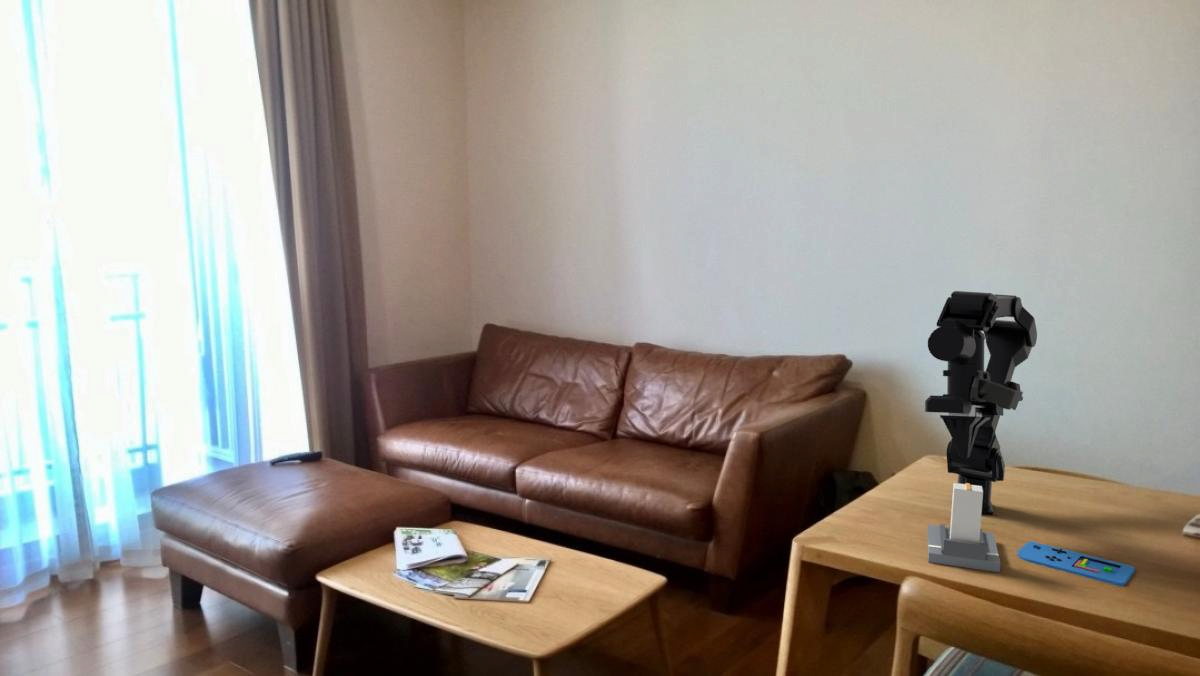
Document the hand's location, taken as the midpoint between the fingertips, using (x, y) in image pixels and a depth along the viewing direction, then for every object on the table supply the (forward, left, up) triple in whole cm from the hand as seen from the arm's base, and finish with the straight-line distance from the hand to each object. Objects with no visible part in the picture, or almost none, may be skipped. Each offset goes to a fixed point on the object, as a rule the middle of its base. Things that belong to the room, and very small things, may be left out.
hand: (964, 457), depth 140 cm
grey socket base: (+10, 0, -13) cm, 16 cm away
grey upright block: (+14, 0, -11) cm, 18 cm away
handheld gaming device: (+9, +16, -13) cm, 22 cm away
